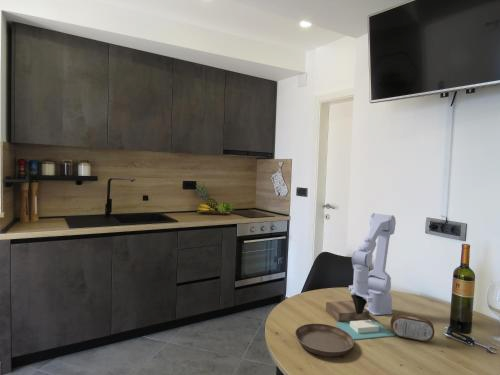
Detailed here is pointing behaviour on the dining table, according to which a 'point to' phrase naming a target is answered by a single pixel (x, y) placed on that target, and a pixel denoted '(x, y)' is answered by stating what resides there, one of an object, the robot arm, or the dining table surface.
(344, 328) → the mat
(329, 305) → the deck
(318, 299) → the dining table surface
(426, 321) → the tin
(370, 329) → the tile
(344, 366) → the dining table surface
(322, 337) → the plant saucer
